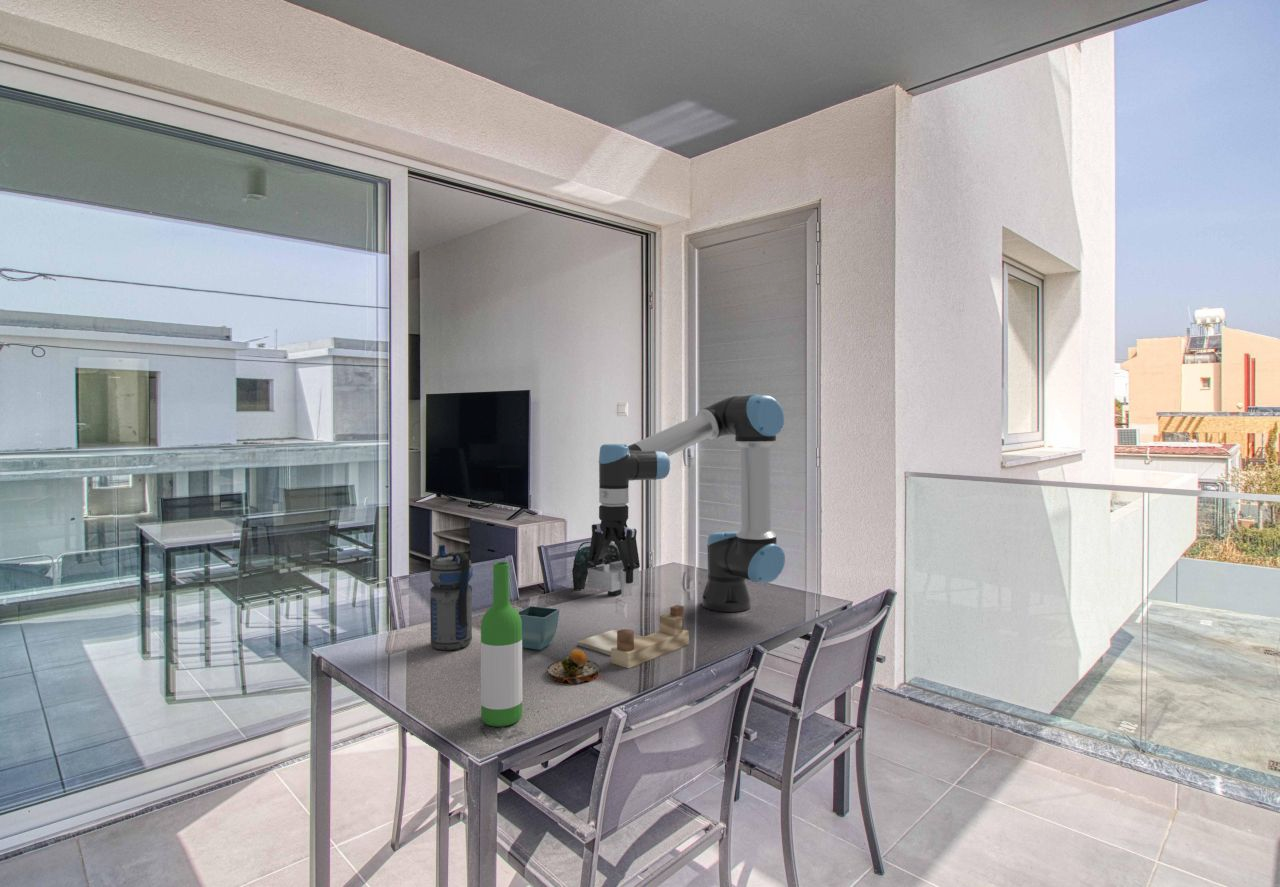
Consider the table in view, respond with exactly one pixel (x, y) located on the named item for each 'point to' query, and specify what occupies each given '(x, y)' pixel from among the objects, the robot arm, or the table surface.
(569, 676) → the salad plate
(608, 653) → the ash board
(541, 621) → the flower pot
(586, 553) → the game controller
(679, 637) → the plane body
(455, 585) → the beverage bottle
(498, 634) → the wine bottle
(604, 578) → the white block with stub
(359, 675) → the table surface
